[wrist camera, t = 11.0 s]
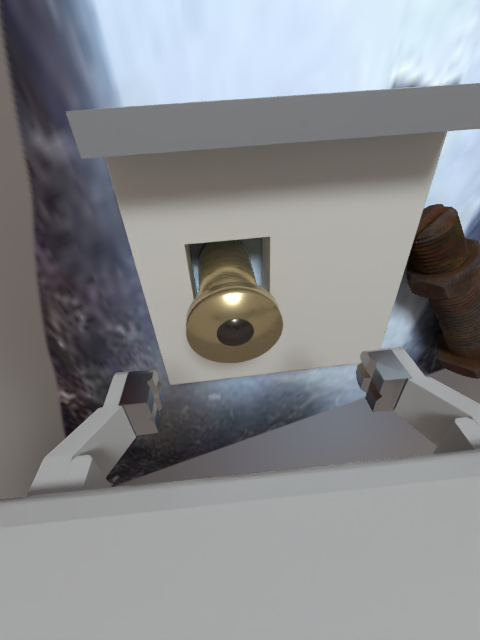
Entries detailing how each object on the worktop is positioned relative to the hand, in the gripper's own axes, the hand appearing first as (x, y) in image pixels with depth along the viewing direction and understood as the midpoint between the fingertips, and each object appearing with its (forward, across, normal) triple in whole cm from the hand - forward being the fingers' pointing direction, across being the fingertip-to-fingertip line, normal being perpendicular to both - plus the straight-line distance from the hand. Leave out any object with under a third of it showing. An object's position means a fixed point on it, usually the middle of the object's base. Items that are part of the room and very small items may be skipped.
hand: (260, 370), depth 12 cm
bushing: (+11, +1, 0) cm, 11 cm away
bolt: (+12, -16, +4) cm, 21 cm away
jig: (+11, -2, 0) cm, 12 cm away
